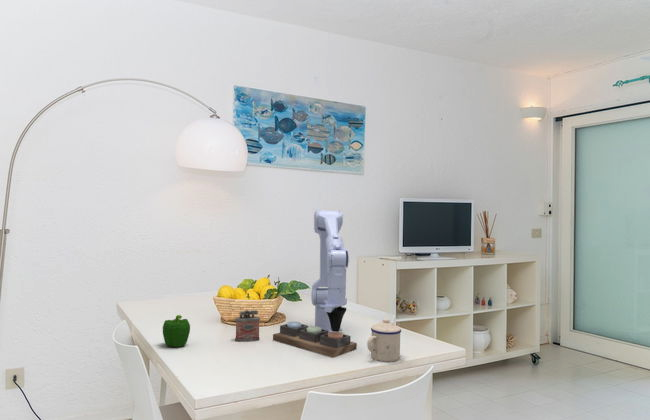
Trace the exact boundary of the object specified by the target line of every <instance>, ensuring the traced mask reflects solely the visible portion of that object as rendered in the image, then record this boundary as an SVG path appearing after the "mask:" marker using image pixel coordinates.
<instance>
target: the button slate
mask: <svg viewBox="0 0 650 420" xmlns="http://www.w3.org/2000/svg"><path fill="white" fill-rule="evenodd" d="M286 324H287V327H290V328H294V329H295V328H299V327H301V324H302V322H300V321H289V322H287V323H286Z"/></svg>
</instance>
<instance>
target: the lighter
mask: <svg viewBox="0 0 650 420" xmlns="http://www.w3.org/2000/svg"><path fill="white" fill-rule="evenodd" d="M255 315H256V316H255ZM257 315H259V310H257V309H256V310H254V309H253V310H249V309H245V310H244V311H243V310H242V311H241V310H240V311H239V316H237V317H235V322H236V323H235V339H234V342H238V343H240V342H241V343H242V342H245V343H246V342H258V341H260V320H261V317H260V316H257Z"/></svg>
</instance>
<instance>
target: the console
mask: <svg viewBox="0 0 650 420" xmlns="http://www.w3.org/2000/svg"><path fill="white" fill-rule="evenodd" d="M307 327H309V325H308V324H302V323H301V327H299V328H295V329H294V328H290V327H287V323H284V324H281V325H279V332H277V333H273V334H272V341H274V342H278V343H281V344H285V345H287V346H291V347H294V348H295V347H296V348H299V349H302V350H305V351H308V352H312V353H315V354H319V355H322V356H326V357H330V358H335V356H336V357H338V355H339V356H341V355H343V354H347V353H350V352H353V351H355V349H356V350H358V349H357V347H358V346H357V345H358V342H354V341H351V336H350V335H349V334H344V333H343V338H340V339H333V338H329V337H328V332H329V331H328V330H324V329H321V332H320V333H316V334H314V333H310V332H307ZM352 350H353V351H352Z"/></svg>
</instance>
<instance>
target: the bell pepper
mask: <svg viewBox="0 0 650 420" xmlns="http://www.w3.org/2000/svg"><path fill="white" fill-rule="evenodd" d="M182 317H183V316H182V315H181V314H177V315H176V316H175V318H174V319H166V320H165V321H164V322H163V325H162V336H163V341H164V344H165V345H166V346H167V347H175V348H179V347H181V348H182V347H184V346H185V345H186V344H187V343H188V340H189V337H190V336H189V335H190V333H191V332H190V331H191V324H190V322H189V320H188V319H187V318H182Z"/></svg>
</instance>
